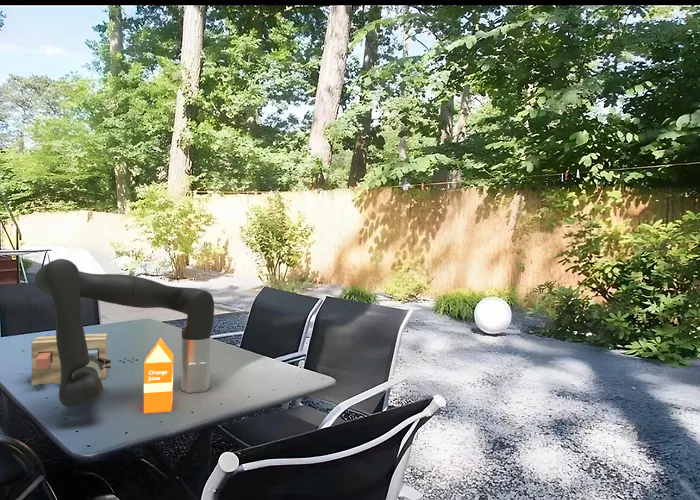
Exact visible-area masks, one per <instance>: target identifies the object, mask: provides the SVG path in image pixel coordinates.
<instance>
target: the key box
mask: <svg viewBox="0 0 700 500" xmlns="http://www.w3.org/2000/svg"><path fill="white" fill-rule="evenodd" d="M84 334H85V333H84ZM85 339H86V344H87V348H88V349H96V348H99V357H98V358H103V359H107V360H108V332H105V333H86V334H85ZM30 347H31V350H30V351H31V386H39V384H43V385H51V384H50V383H55V384H60V383H59V382H60V380H61V365H60V359H59V354H58V349H57V342H56V335H49V336H47V335H45V336H36V337H35V338H34V339H33V341H32V342H31V346H30ZM47 351H52V361H51V363H50V365H49V366H48V368H47V369H36V358H37V357H38V355H39V354H40V352H47ZM107 372H108V369H107V368H104V369H103V370H101V376H100V380H101V381H102V380H103V381H104V380H106V379H107Z"/></svg>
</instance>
